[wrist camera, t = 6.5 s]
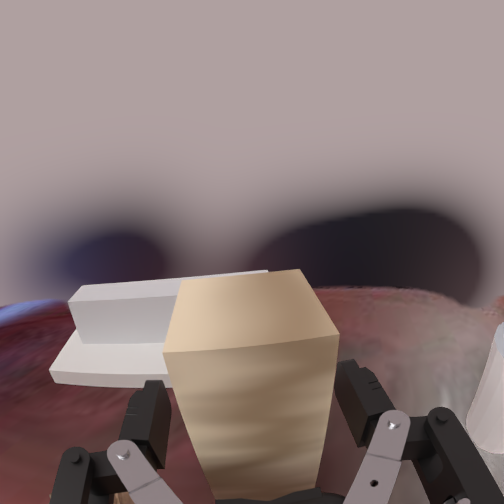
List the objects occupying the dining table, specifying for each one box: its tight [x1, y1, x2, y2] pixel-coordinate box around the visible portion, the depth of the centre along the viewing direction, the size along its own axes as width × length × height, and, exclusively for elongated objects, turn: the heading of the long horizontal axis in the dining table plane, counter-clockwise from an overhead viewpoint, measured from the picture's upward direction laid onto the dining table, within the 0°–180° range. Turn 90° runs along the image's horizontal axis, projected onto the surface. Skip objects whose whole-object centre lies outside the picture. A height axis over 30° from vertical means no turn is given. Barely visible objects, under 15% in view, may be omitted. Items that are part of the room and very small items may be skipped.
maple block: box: [162, 269, 340, 501], centre depth 11 cm, size 4×4×12 cm
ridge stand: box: [49, 270, 268, 388], centre depth 26 cm, size 22×12×6 cm, turn 95°
